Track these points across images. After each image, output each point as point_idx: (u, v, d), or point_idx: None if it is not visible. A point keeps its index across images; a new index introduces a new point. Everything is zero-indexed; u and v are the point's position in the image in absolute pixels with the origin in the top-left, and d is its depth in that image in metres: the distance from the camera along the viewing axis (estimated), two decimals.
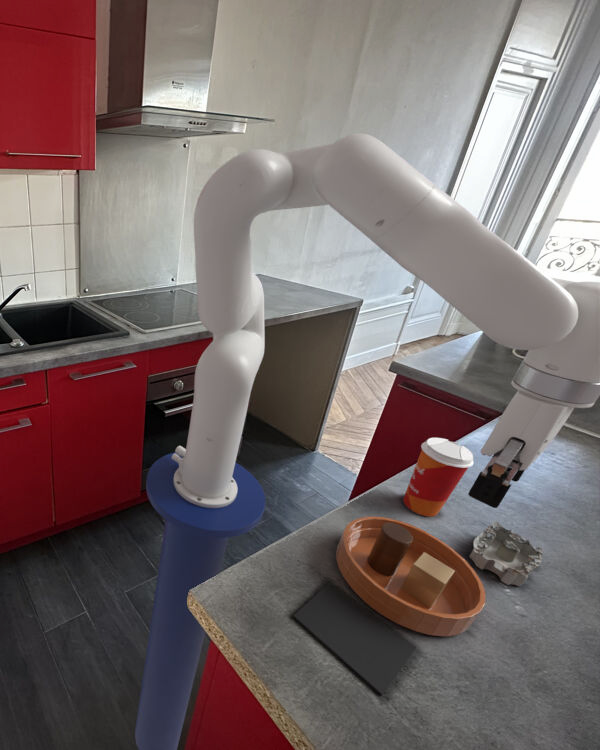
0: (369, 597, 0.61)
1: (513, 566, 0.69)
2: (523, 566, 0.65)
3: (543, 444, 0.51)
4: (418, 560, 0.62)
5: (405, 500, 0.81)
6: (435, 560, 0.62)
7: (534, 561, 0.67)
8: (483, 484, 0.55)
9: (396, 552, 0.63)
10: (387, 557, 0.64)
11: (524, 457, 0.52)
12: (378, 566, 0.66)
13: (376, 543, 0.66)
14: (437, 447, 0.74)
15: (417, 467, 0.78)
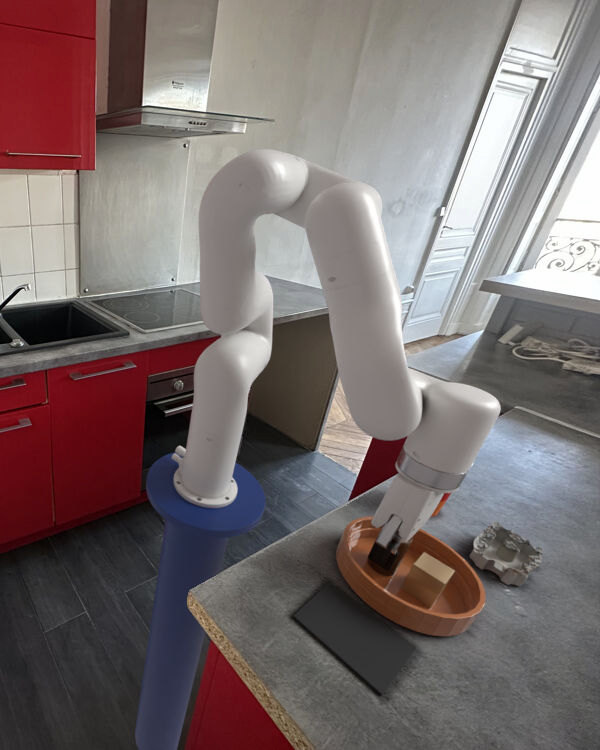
0: (369, 597, 0.61)
1: (513, 566, 0.69)
2: (523, 566, 0.65)
3: (416, 522, 0.57)
4: (418, 560, 0.62)
5: None
6: (435, 560, 0.62)
7: (534, 561, 0.67)
8: (377, 550, 0.64)
9: None
10: None
11: (402, 532, 0.58)
12: (378, 566, 0.66)
13: None
14: None
15: None
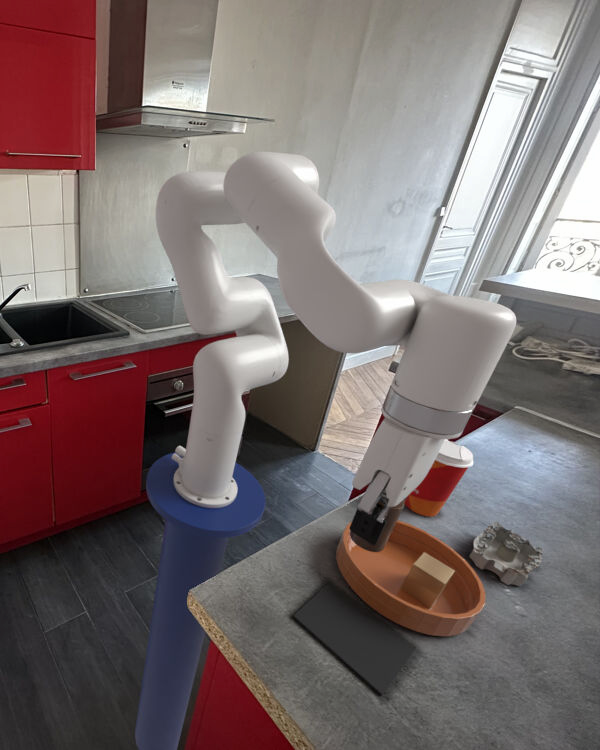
0: (369, 597, 0.61)
1: (513, 566, 0.69)
2: (523, 566, 0.65)
3: (408, 479, 0.45)
4: (418, 560, 0.62)
5: (405, 500, 0.81)
6: (435, 560, 0.62)
7: (534, 561, 0.67)
8: (360, 519, 0.51)
9: None
10: None
11: (390, 493, 0.46)
12: (362, 540, 0.53)
13: None
14: None
15: None
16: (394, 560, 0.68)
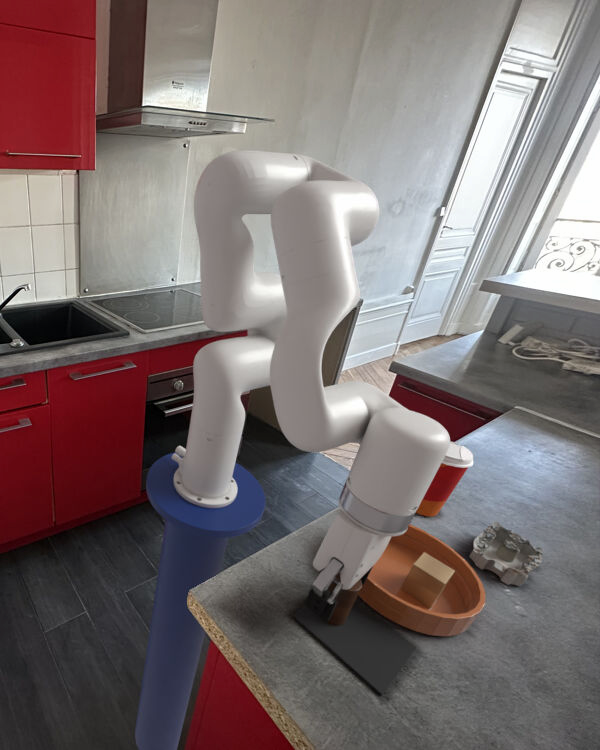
0: (369, 597, 0.61)
1: (513, 566, 0.69)
2: (523, 566, 0.65)
3: (359, 568, 0.50)
4: (418, 560, 0.62)
5: None
6: (435, 560, 0.62)
7: (534, 561, 0.67)
8: (313, 598, 0.55)
9: (343, 600, 0.56)
10: None
11: (344, 578, 0.51)
12: None
13: None
14: None
15: None
16: (394, 560, 0.68)
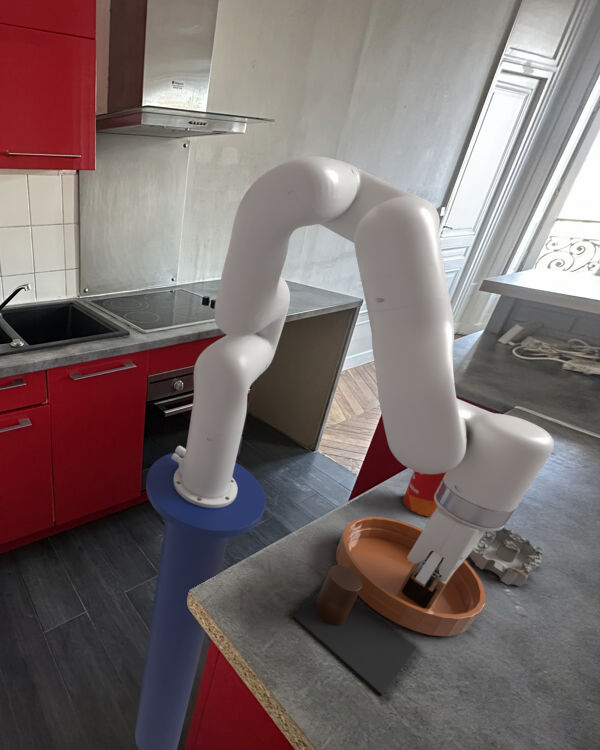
0: (369, 597, 0.61)
1: (513, 566, 0.69)
2: (523, 566, 0.65)
3: (459, 561, 0.54)
4: None
5: (405, 500, 0.81)
6: None
7: (534, 561, 0.67)
8: (413, 586, 0.61)
9: (343, 600, 0.56)
10: (333, 606, 0.57)
11: (443, 570, 0.55)
12: (325, 614, 0.58)
13: (323, 588, 0.58)
14: None
15: None
16: (394, 560, 0.68)
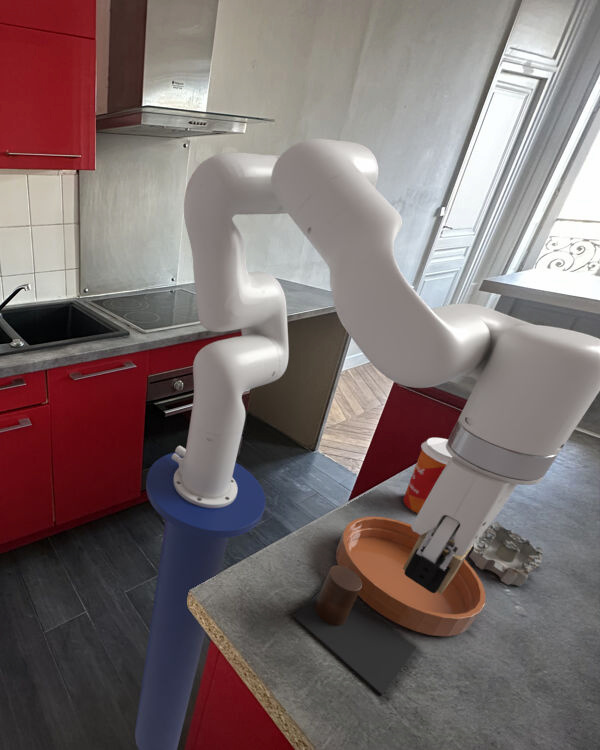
0: (369, 597, 0.61)
1: (513, 566, 0.69)
2: (523, 566, 0.65)
3: (481, 527, 0.40)
4: None
5: (405, 500, 0.81)
6: None
7: (534, 561, 0.67)
8: (419, 565, 0.47)
9: (343, 600, 0.56)
10: (333, 606, 0.57)
11: (459, 541, 0.41)
12: (325, 614, 0.58)
13: (323, 588, 0.58)
14: (437, 447, 0.74)
15: (417, 466, 0.78)
16: (394, 560, 0.68)
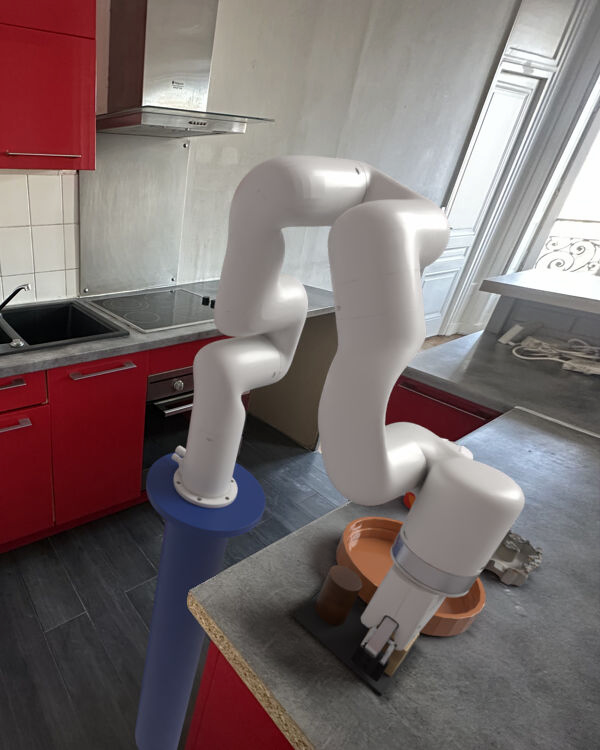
0: (369, 597, 0.61)
1: (513, 566, 0.69)
2: (523, 566, 0.65)
3: (416, 629, 0.46)
4: None
5: (405, 500, 0.81)
6: None
7: (534, 561, 0.67)
8: (363, 656, 0.51)
9: (343, 600, 0.56)
10: (333, 606, 0.57)
11: (398, 639, 0.47)
12: (325, 614, 0.58)
13: (323, 588, 0.58)
14: None
15: None
16: None
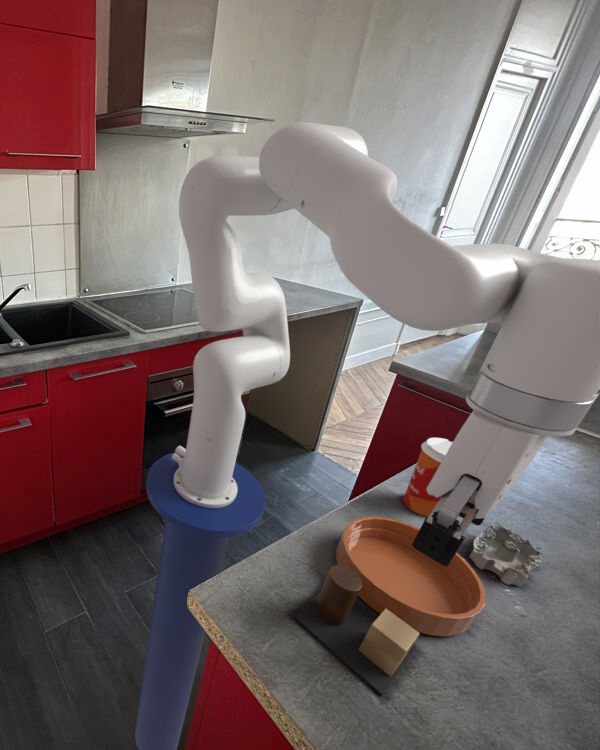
0: (369, 597, 0.61)
1: (513, 566, 0.69)
2: (523, 566, 0.65)
3: (505, 485, 0.37)
4: (378, 619, 0.53)
5: (405, 500, 0.81)
6: (397, 619, 0.53)
7: (534, 561, 0.67)
8: (429, 534, 0.41)
9: (343, 600, 0.56)
10: (333, 606, 0.57)
11: (481, 502, 0.38)
12: (325, 614, 0.58)
13: (323, 588, 0.58)
14: (437, 447, 0.74)
15: (417, 466, 0.78)
16: (394, 560, 0.68)
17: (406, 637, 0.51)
